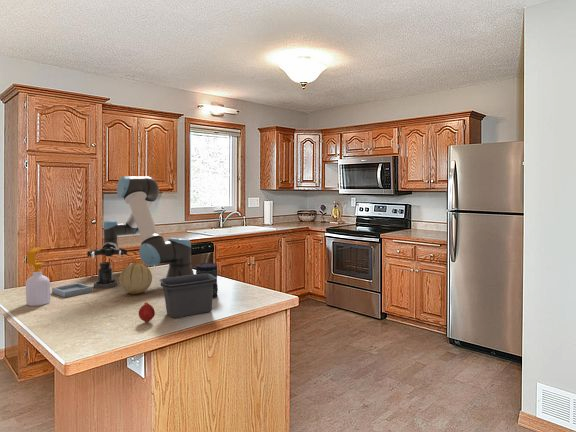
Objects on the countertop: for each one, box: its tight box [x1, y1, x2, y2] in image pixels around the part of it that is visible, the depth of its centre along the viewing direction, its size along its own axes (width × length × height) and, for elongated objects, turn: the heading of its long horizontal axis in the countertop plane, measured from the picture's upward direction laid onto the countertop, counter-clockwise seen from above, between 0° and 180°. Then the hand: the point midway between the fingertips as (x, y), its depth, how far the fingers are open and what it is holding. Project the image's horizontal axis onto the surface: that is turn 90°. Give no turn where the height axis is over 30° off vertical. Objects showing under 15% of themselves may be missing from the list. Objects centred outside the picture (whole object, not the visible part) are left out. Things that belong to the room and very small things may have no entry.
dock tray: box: [51, 282, 93, 298], centre depth 204 cm, size 13×13×2 cm
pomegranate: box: [138, 301, 156, 323], centre depth 160 cm, size 6×6×8 cm
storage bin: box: [159, 273, 216, 319], centre depth 173 cm, size 21×16×14 cm
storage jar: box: [195, 262, 219, 300], centre depth 197 cm, size 10×10×15 cm
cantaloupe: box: [119, 261, 153, 295], centre depth 202 cm, size 15×15×15 cm
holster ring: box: [93, 279, 118, 289], centre depth 217 cm, size 11×11×2 cm
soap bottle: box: [25, 246, 51, 307], centre depth 185 cm, size 9×9×25 cm
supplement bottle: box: [97, 261, 114, 284], centre depth 217 cm, size 7×7×12 cm
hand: (106, 255), depth 226 cm, fingers open, 13 cm apart
